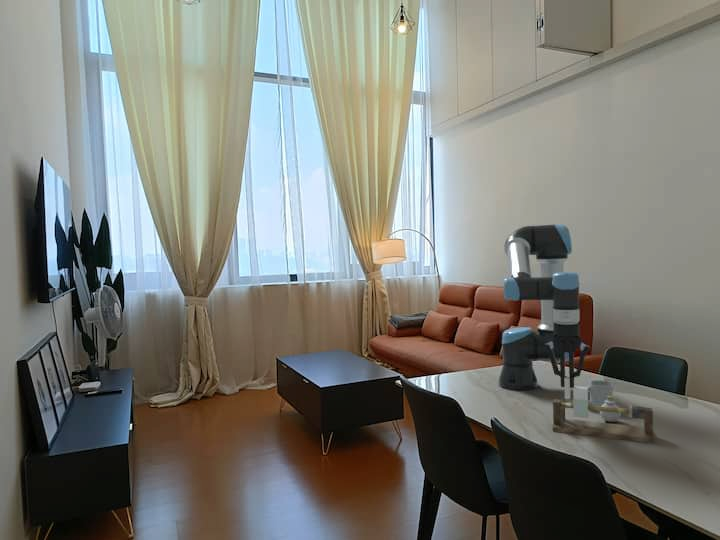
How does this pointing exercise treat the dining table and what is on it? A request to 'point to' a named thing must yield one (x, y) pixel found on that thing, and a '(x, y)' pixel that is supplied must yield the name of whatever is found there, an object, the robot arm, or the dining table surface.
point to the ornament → (609, 415)
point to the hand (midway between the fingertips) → (567, 397)
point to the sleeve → (580, 401)
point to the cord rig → (604, 428)
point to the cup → (599, 392)
